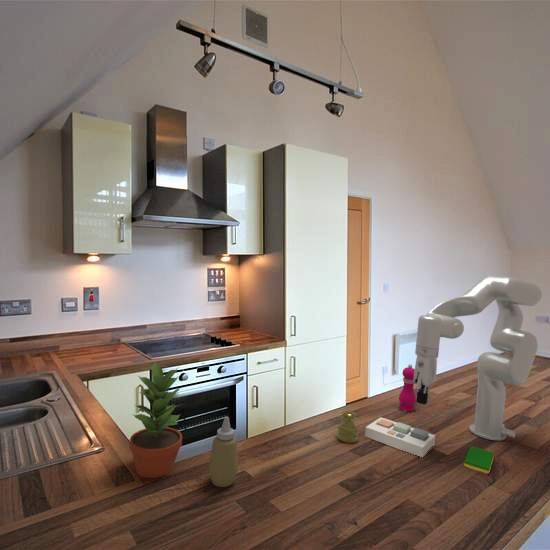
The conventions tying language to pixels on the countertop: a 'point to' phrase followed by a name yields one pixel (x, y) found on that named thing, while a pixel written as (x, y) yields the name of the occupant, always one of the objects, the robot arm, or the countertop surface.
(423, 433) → the charcoal key
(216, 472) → the squeeze bottle
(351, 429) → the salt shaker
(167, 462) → the potted plant
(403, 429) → the sage key
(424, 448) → the key pad
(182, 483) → the countertop surface
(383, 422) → the terracotta key
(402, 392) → the pepper mill
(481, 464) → the dish sponge
